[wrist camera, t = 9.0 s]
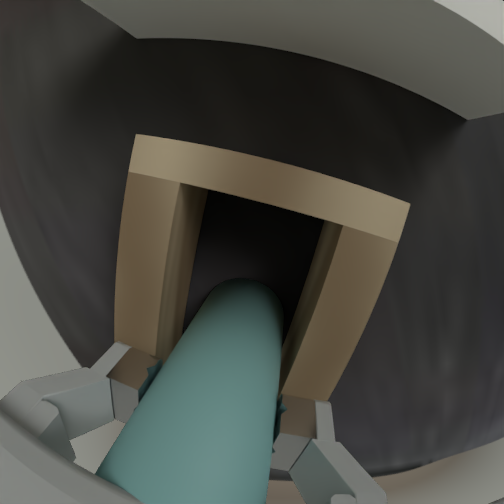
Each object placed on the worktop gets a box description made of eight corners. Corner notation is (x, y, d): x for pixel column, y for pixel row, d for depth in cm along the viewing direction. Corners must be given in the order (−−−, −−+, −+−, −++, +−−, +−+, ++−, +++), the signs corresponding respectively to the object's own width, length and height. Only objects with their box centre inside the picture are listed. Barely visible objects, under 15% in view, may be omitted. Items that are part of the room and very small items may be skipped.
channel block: (377, 194, 11) (410, 203, 7) (301, 391, 14) (302, 441, 10) (177, 142, 11) (136, 134, 8) (147, 345, 14) (116, 385, 11)
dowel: (293, 290, 12) (284, 535, 3) (271, 356, 13) (238, 563, 4) (212, 268, 12) (65, 462, 3) (199, 336, 14) (100, 519, 4)
